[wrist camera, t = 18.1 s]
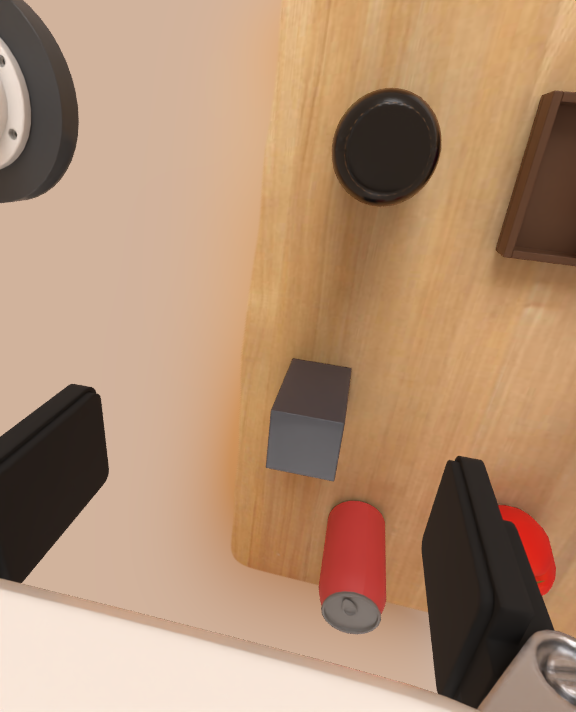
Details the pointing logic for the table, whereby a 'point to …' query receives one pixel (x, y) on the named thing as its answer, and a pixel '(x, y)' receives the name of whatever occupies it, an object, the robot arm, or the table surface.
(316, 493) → the table surface
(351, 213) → the table surface
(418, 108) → the supplement bottle
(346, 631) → the beer can
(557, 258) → the tray
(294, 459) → the bottom block
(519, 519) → the tomato
